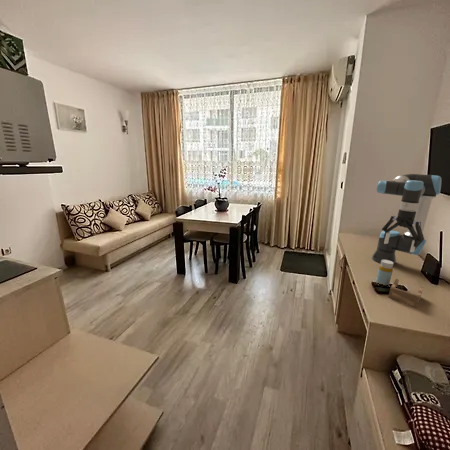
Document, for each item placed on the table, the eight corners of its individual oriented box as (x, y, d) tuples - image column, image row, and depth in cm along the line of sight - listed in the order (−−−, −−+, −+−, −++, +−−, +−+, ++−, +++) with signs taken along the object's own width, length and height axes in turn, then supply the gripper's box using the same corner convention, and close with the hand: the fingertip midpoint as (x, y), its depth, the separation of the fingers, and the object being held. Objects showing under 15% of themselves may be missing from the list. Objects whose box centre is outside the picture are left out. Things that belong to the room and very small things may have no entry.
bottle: (390, 287, 145) (396, 264, 141) (377, 286, 147) (383, 263, 143) (385, 282, 152) (391, 260, 148) (373, 280, 153) (378, 258, 149)
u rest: (393, 288, 145) (396, 279, 144) (420, 297, 137) (423, 287, 135) (388, 297, 135) (390, 287, 134) (416, 307, 127) (419, 297, 125)
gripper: (380, 205, 139) (372, 241, 145) (431, 215, 118) (420, 256, 123) (388, 205, 142) (380, 239, 148) (439, 214, 121) (427, 254, 127)
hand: (398, 247), depth 136 cm, fingers open, 13 cm apart
